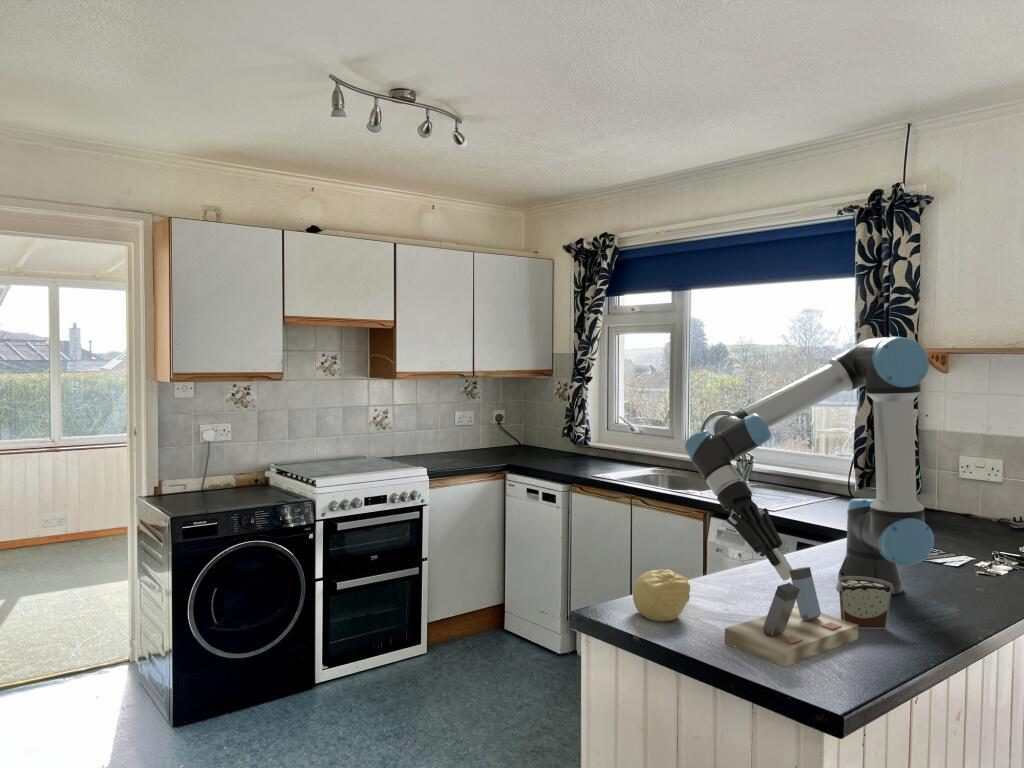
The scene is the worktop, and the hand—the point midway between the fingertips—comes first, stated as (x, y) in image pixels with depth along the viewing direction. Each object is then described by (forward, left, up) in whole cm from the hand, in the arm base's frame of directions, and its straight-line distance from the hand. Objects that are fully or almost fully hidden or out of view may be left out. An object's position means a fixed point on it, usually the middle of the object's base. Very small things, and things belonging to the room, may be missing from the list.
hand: (789, 577), depth 160 cm
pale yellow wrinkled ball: (+20, -19, -11) cm, 30 cm away
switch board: (+7, +6, -11) cm, 14 cm away
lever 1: (+14, +6, -8) cm, 17 cm away
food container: (-15, +8, -11) cm, 20 cm away
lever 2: (0, +6, -8) cm, 10 cm away
